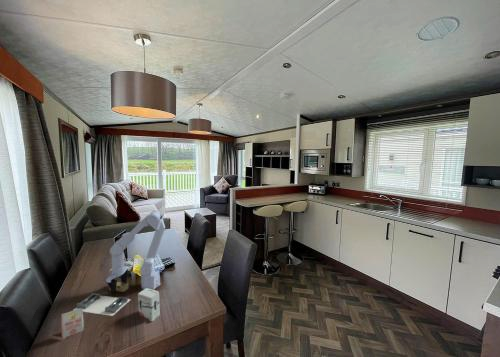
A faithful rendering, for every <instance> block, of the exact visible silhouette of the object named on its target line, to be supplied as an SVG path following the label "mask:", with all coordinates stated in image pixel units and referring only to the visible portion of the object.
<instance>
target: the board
mask: <svg viewBox="0 0 500 357" xmlns="http://www.w3.org/2000/svg"><path fill="white" fill-rule="evenodd" d="M100 297H101V298H100V299H97V300H96V301H94V302H93V303H92V304H90V305H89V306H87V308H86V309H82V311H83V313H91V314H96V315H97V314H98V315H104V316H111V317H113V316H114V315H116V314H117V313H118V312H119V311H120V310H121V309H122V308H123V307H124V306H126V305H127V303H129V302H130V301H131V300H132V299H130V298H128V302H125V303H124V304H123V305H122V306H121V307H120V308H118V309H117V310H116V312H115V313H111V312H105V308H106V307H108V306H109V305H111V304H112V303H113V302H114V301H115V300H117V299H118V297H116V296H115V297H114V296H106V295H100ZM78 309H81V308H77V306H76V307H74V308H73V309H72V311H74V310H78Z"/></svg>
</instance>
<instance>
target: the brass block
mask: <svg viewBox="0 0 500 357" xmlns="http://www.w3.org/2000/svg"><path fill="white" fill-rule="evenodd" d="M108 287H109V286H108ZM108 289H109V291H111V289H110V287H109V288H108ZM128 289H129V282H126V283H125V282H121V281H117V284H116V292H125V291H127V290H128Z"/></svg>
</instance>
